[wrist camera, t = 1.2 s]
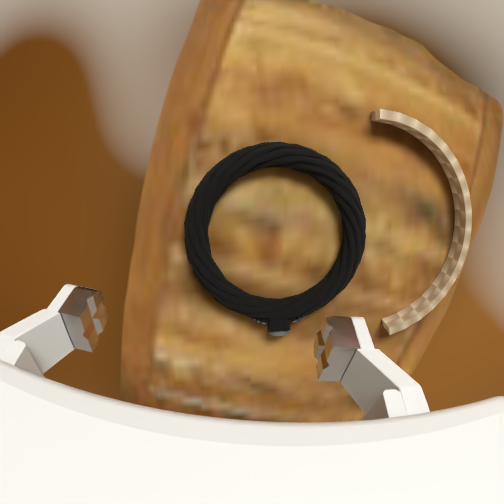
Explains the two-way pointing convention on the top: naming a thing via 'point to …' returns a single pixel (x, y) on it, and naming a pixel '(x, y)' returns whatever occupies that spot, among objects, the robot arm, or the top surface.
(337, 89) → the top surface
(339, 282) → the cable lock
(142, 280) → the top surface
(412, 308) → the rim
